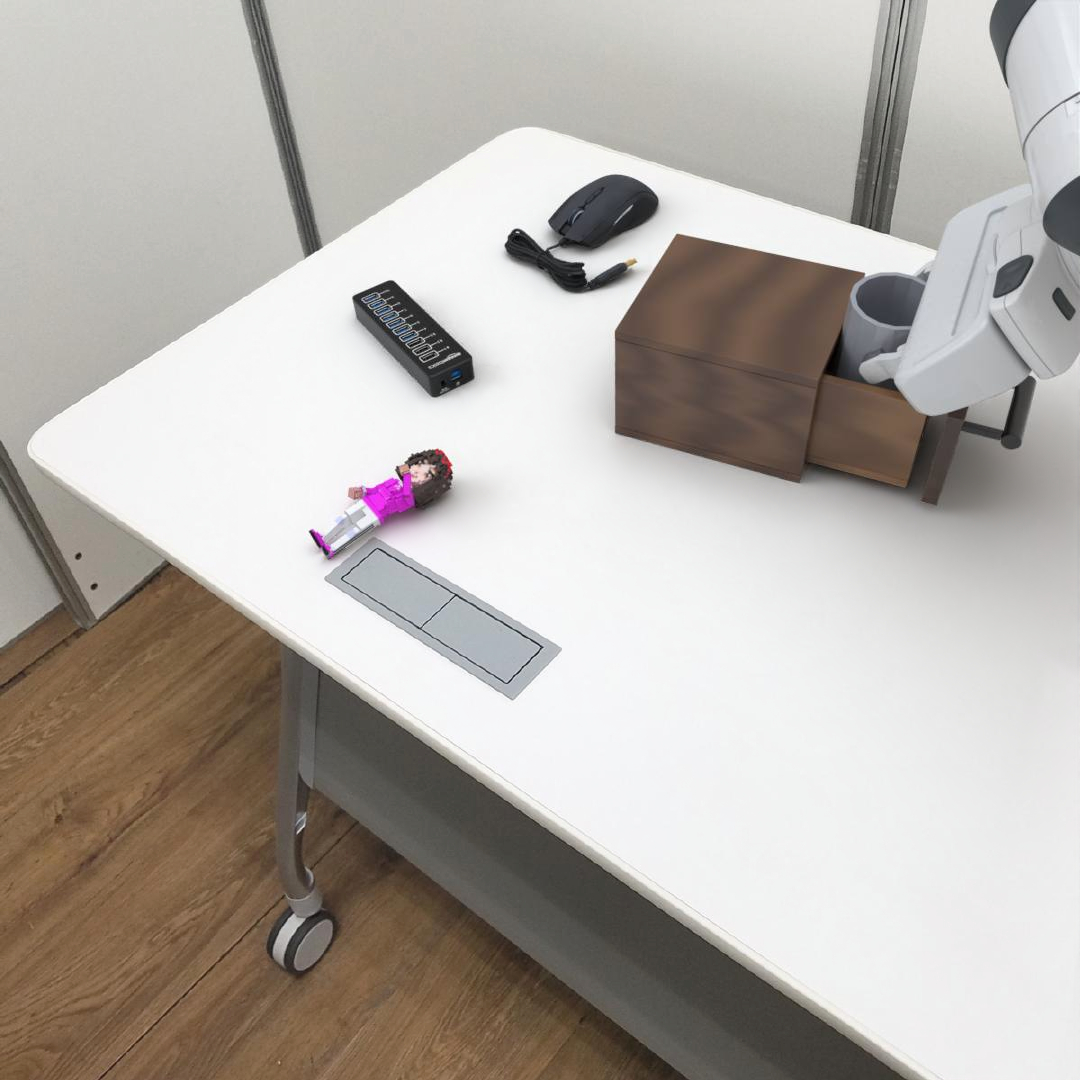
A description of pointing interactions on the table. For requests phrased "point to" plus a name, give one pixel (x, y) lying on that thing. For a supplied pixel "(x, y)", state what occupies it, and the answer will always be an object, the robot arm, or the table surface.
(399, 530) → the table surface
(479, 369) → the table surface
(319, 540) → the character figurine
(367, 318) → the multiport hub
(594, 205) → the computer mouse
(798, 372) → the cabinet
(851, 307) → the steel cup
